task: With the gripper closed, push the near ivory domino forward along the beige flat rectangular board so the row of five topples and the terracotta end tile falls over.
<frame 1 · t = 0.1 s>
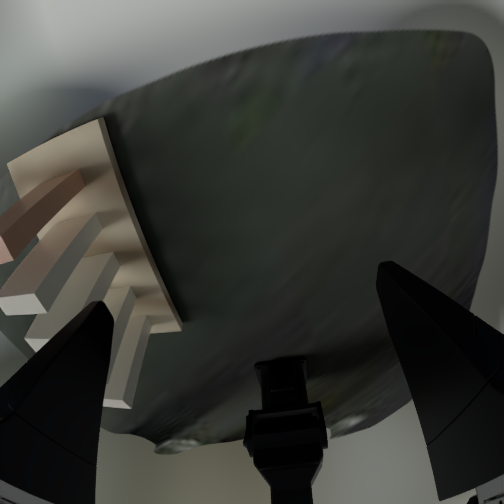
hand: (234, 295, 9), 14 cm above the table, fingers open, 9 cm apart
beige flat rectangular board: (95, 248, 25), on the table
domino 1: (129, 322, 29), point 1 cm above the table, touching beige flat rectangular board
domino 3: (95, 262, 24), point 1 cm above the table, touching beige flat rectangular board
domino 5: (60, 185, 20), point 1 cm above the table, touching beige flat rectangular board
domino 2: (112, 294, 27), point 1 cm above the table, touching beige flat rectangular board
domino 4: (77, 226, 22), point 1 cm above the table, touching beige flat rectangular board
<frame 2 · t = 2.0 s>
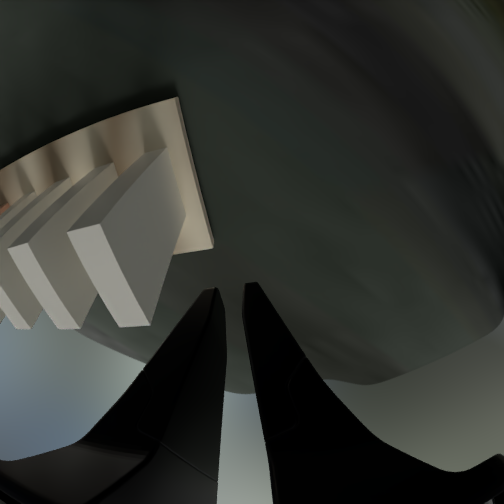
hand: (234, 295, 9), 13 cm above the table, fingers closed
beige flat rectangular board: (70, 205, 20), on the table
domino 1: (165, 184, 19), point 1 cm above the table, touching beige flat rectangular board
domino 3: (73, 208, 19), point 1 cm above the table, touching beige flat rectangular board
domino 2: (114, 197, 19), point 1 cm above the table, touching beige flat rectangular board
domino 4: (40, 219, 20), point 1 cm above the table, touching beige flat rectangular board
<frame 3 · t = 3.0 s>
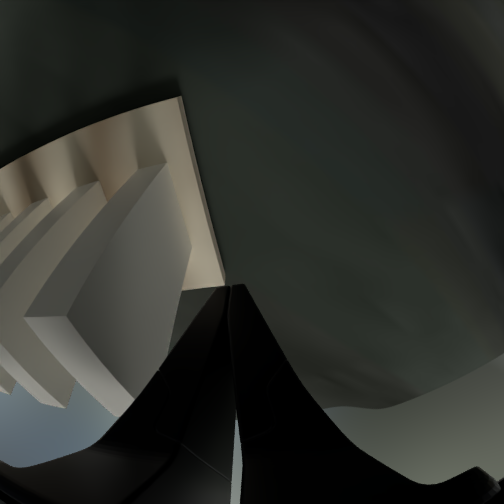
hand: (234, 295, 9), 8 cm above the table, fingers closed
beige flat rectangular board: (52, 229, 16), on the table
domino 1: (165, 209, 15), point 1 cm above the table, touching beige flat rectangular board
domino 3: (54, 235, 15), point 1 cm above the table, touching beige flat rectangular board
domino 2: (103, 223, 15), point 1 cm above the table, touching beige flat rectangular board
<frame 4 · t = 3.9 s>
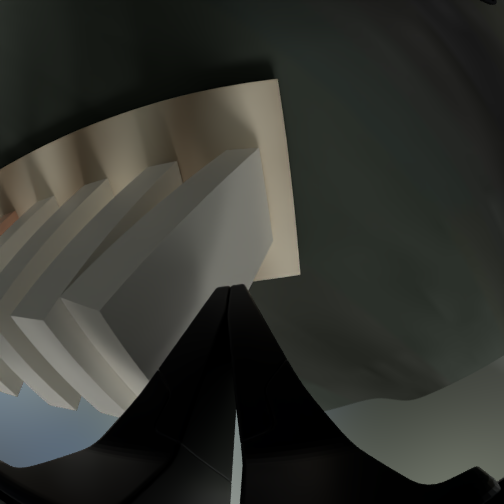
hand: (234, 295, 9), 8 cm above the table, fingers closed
beige flat rectangular board: (103, 216, 16), on the table
domino 1: (251, 197, 14), point 1 cm above the table, tilted 21°, touching beige flat rectangular board
domino 3: (111, 221, 15), point 1 cm above the table, touching beige flat rectangular board
domino 2: (175, 208, 15), point 1 cm above the table, tilted 7°, touching beige flat rectangular board
domino 4: (61, 233, 15), point 1 cm above the table, touching beige flat rectangular board
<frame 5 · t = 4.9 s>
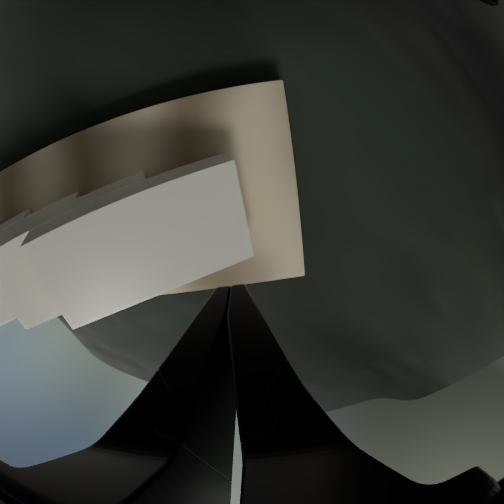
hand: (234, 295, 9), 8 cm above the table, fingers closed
beige flat rectangular board: (107, 218, 16), on the table
domino 1: (238, 205, 14), point 2 cm above the table, tilted 67°, touching beige flat rectangular board, domino 2
domino 3: (93, 234, 15), point 2 cm above the table, tilted 66°, touching beige flat rectangular board, domino 2, domino 4
domino 2: (159, 219, 14), point 2 cm above the table, tilted 66°, touching beige flat rectangular board, domino 1, domino 3
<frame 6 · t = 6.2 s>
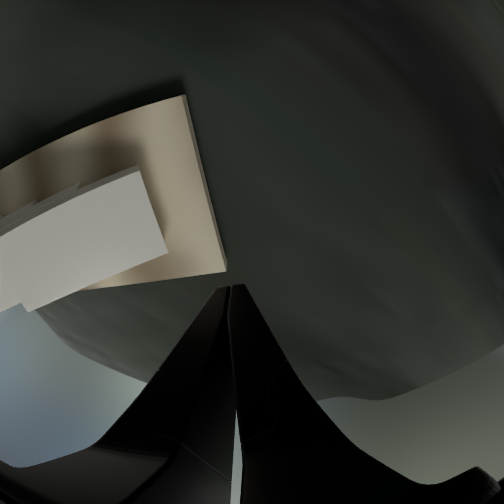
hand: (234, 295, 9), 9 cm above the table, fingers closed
beige flat rectangular board: (61, 221, 17), on the table
domino 1: (152, 209, 15), point 2 cm above the table, tilted 67°, touching beige flat rectangular board, domino 2
domino 2: (94, 222, 16), point 2 cm above the table, tilted 66°, touching beige flat rectangular board, domino 1, domino 3
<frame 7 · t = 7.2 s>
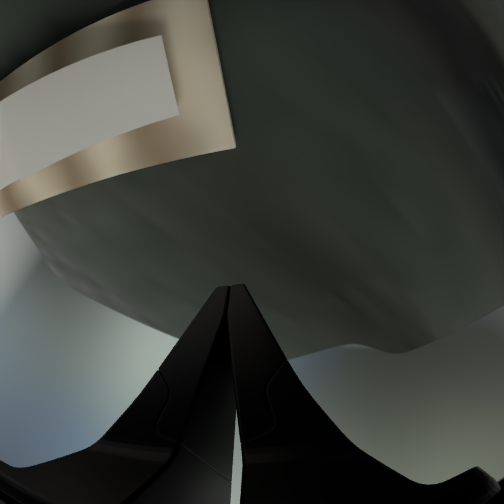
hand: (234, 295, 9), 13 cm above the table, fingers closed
beige flat rectangular board: (71, 112, 16), on the table
domino 1: (167, 75, 14), point 2 cm above the table, tilted 67°, touching beige flat rectangular board, domino 2
domino 2: (106, 95, 14), point 2 cm above the table, tilted 66°, touching beige flat rectangular board, domino 1, domino 3
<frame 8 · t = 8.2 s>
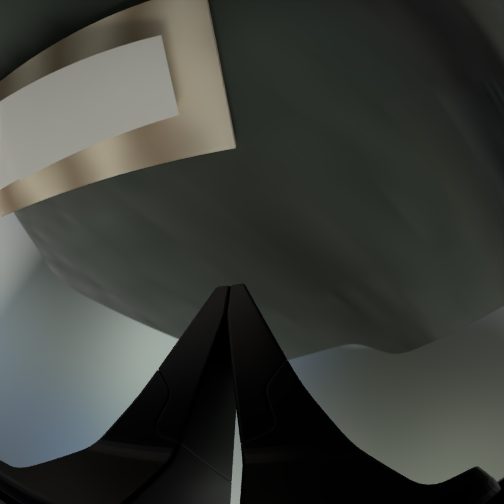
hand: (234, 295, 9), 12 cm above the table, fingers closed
beige flat rectangular board: (71, 112, 16), on the table
domino 1: (167, 75, 14), point 2 cm above the table, tilted 67°, touching beige flat rectangular board, domino 2
domino 2: (106, 95, 14), point 2 cm above the table, tilted 66°, touching beige flat rectangular board, domino 1, domino 3
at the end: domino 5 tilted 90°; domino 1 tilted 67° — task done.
